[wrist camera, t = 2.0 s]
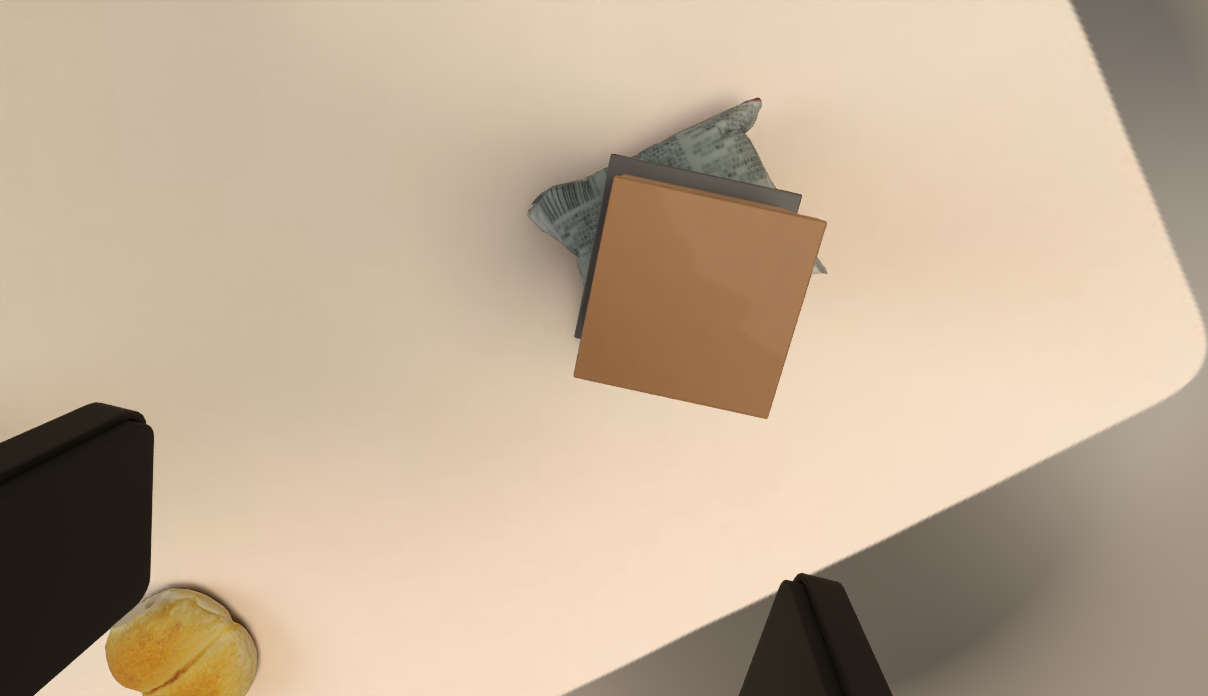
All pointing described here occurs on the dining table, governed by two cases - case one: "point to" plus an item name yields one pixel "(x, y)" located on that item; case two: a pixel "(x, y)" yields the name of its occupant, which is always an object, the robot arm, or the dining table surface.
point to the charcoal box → (682, 178)
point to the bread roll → (181, 648)
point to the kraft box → (696, 295)
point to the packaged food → (697, 149)
